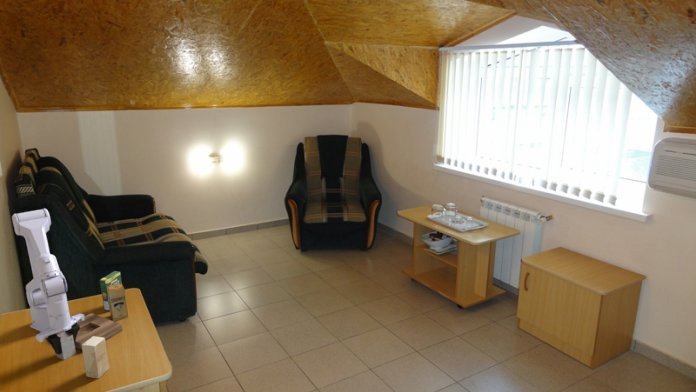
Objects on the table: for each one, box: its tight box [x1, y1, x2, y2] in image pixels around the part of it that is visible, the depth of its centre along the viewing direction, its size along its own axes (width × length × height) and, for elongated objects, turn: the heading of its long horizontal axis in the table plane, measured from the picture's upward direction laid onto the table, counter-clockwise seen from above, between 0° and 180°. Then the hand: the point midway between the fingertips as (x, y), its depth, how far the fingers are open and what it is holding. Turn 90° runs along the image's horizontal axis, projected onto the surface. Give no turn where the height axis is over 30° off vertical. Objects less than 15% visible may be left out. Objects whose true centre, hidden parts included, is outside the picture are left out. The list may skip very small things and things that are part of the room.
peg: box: [55, 331, 77, 361], centre depth 154 cm, size 4×4×7 cm
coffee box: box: [99, 270, 123, 312], centre depth 183 cm, size 8×3×13 cm, turn 163°
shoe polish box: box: [107, 283, 129, 322], centre depth 176 cm, size 5×5×12 cm
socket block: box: [56, 312, 123, 351], centre depth 166 cm, size 16×14×2 cm
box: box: [81, 336, 110, 379], centre depth 145 cm, size 5×4×11 cm
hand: (65, 349), depth 154 cm, fingers closed on peg, 4 cm apart
